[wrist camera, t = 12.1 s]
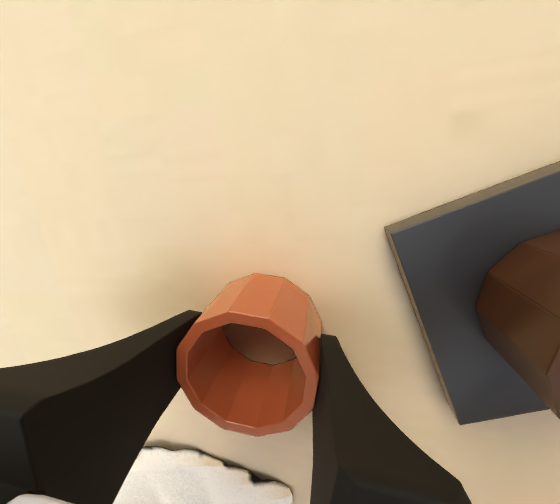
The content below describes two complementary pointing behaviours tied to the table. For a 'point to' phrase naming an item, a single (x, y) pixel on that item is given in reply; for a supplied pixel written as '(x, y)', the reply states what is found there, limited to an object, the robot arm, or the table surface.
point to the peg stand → (473, 286)
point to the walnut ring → (527, 314)
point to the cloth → (195, 481)
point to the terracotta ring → (247, 374)
